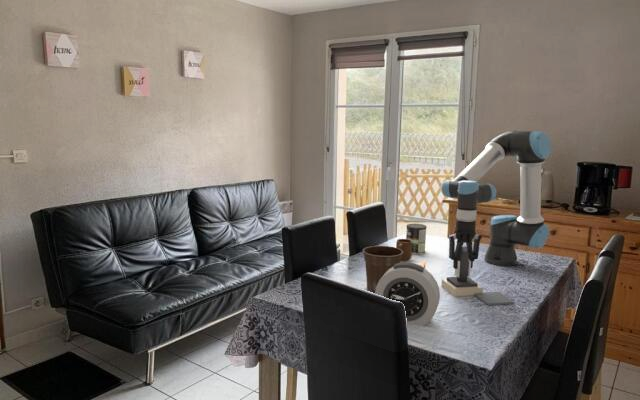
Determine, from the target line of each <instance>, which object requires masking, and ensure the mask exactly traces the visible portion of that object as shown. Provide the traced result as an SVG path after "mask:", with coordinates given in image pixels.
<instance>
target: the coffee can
mask: <svg viewBox="0 0 640 400" xmlns="http://www.w3.org/2000/svg"><path fill="white" fill-rule="evenodd" d="M405 234H406V236H405V239H408V240H411V241H412V252H411V255H422V254H425V253H426V240H427V239H426V238H427V225H425V224H423V223H407V224H406V233H405Z"/></svg>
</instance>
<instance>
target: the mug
mask: <svg viewBox="0 0 640 400" xmlns="http://www.w3.org/2000/svg"><path fill="white" fill-rule="evenodd" d="M395 245H396V246H395V248H399V249H401V250H402V251H403V254H402V257H401V262H402V261H403V262H408V261H410V260H411V259H412V254H411V252H412V241H411V240H408V239H406V238H399V239H398V238H397V240H396V243H395Z"/></svg>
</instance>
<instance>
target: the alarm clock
mask: <svg viewBox="0 0 640 400" xmlns="http://www.w3.org/2000/svg"><path fill="white" fill-rule="evenodd" d="M440 293H441V292H440V286H439V284H438V282H437V280H436V279H435V277H434V276H433V274H432V273H431V272H429V271H428V270H427V269H426V268H425V269H424V268H423V267H422V266H420V264H417V263H414V262H408V261H403V262H402V261H401V262H400V263H397V264H395V265H394V267H392V268H390V269H389V270H388V271H387V272H386V273H385V274H384V275H383V277H382V278H381V279H380V280H379V282H378V284H377V286H376V290H375V292H374V295H375V294H378V295H381V296H384V297H386V298H389V299H392V300H396V301H400V302H402V303H403V304H404V306H405V311H406V318H407V323H406V324H409V325H410V324H411V325H415V326H416V325H417V326H421V325H422V326H423V327H424V326H426V325H427V324H428V323H429V322H430V321H431V320H432V319H433V318H434V316H435V315H436V312H437V309H438V307H439V304H440V299H441V294H440Z"/></svg>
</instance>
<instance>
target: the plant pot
mask: <svg viewBox="0 0 640 400" xmlns="http://www.w3.org/2000/svg"><path fill="white" fill-rule="evenodd" d="M362 252H363V256H364V257H363V258H364V262H365V276H366V277H365V278H366V288H367V290H369V291H370V292H372V293H375V290H376V286H377V284H378V282H379V280H380V279H381V278H382V277H383V275H384V274H385V273H386V272H387V271H388V270H389V269H390V268H392V267H394V265H395V264H397V263H402V261H401V257H402V254H403V251H402V250H401V249H399V248H396V246H395V247H394V246H388V245H373V246H372V245H371V246H366V247H365V248H363V249H362Z"/></svg>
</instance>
